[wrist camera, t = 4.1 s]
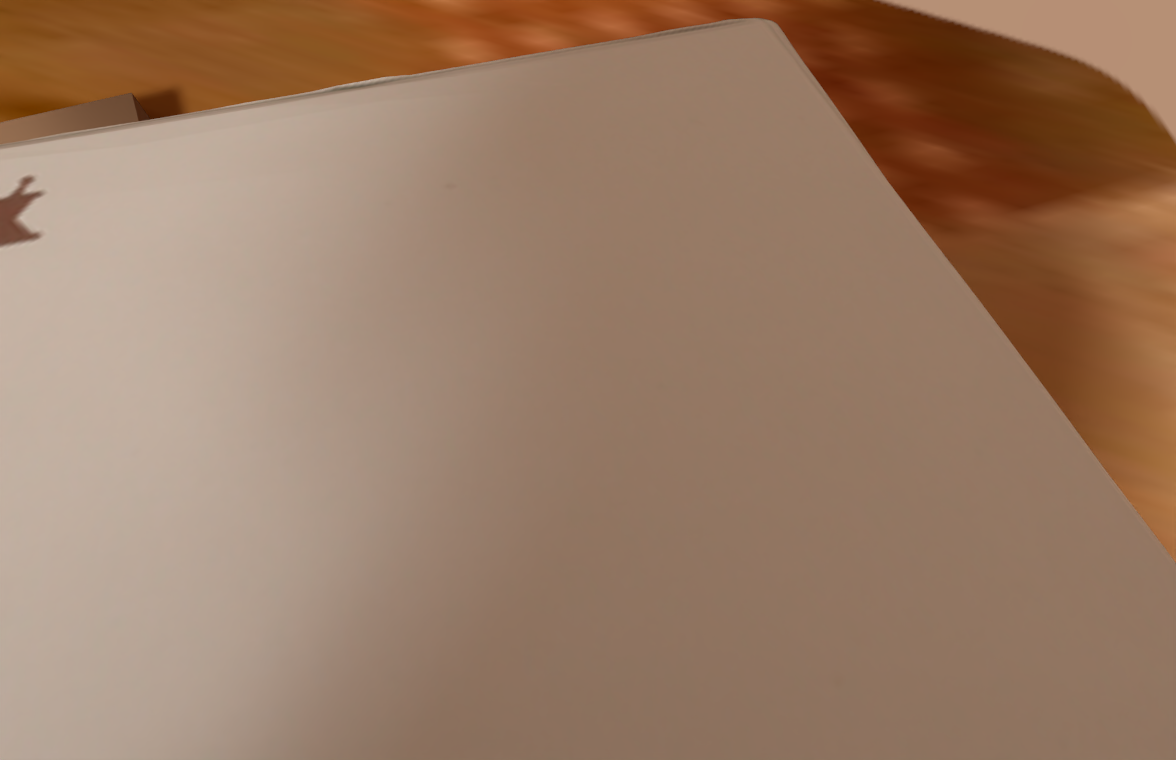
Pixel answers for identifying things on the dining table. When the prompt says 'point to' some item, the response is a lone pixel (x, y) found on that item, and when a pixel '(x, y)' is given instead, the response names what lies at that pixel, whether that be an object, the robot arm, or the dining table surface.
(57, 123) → the walnut board
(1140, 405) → the dining table surface
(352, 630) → the supplement box
